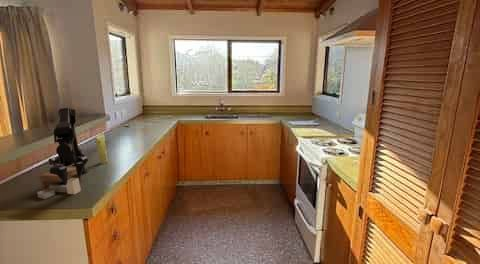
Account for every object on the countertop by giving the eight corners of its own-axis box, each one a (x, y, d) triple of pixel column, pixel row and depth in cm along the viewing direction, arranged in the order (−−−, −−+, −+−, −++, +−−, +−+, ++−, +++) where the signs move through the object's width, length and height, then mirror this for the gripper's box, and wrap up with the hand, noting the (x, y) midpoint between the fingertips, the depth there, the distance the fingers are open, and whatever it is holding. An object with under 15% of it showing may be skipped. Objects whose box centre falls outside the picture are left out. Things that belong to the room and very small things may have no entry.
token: (48, 193, 135) (47, 188, 134) (55, 194, 133) (54, 189, 133) (38, 198, 130) (37, 192, 130) (45, 199, 129) (43, 193, 128)
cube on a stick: (54, 188, 140) (52, 176, 138) (80, 190, 137) (78, 178, 135) (48, 192, 136) (45, 179, 134) (74, 194, 133) (72, 181, 131)
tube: (107, 163, 178) (103, 135, 174) (99, 164, 176) (94, 136, 172) (108, 160, 183) (104, 133, 179) (99, 161, 181) (95, 134, 177)
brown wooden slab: (63, 180, 151) (60, 166, 149) (82, 180, 150) (79, 166, 148) (42, 190, 138) (39, 175, 136) (62, 191, 136) (59, 176, 134)
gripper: (67, 145, 140) (72, 173, 144) (36, 156, 122) (42, 187, 126) (86, 145, 138) (91, 173, 142) (57, 157, 120) (63, 188, 124)
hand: (72, 180), depth 133 cm, fingers open, 9 cm apart
